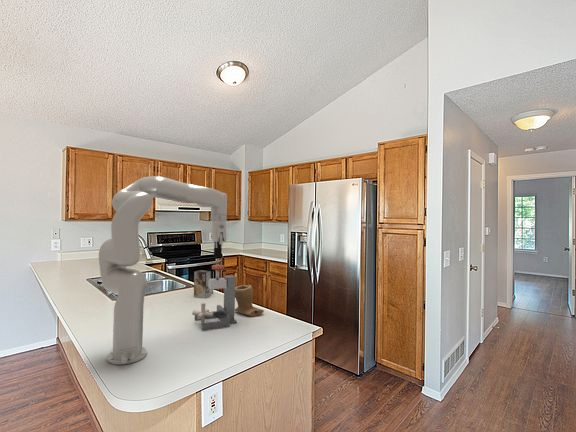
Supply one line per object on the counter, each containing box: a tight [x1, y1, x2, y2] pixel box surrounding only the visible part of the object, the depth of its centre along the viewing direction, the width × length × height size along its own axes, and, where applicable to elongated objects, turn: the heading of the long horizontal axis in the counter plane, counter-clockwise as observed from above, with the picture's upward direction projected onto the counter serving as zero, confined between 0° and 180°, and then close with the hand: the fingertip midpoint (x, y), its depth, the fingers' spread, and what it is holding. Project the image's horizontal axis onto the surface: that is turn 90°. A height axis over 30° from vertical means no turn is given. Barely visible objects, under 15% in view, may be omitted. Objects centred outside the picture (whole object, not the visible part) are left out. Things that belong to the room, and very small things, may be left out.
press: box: [194, 274, 238, 332], centre depth 149 cm, size 16×17×22 cm
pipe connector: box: [191, 302, 214, 326], centre depth 146 cm, size 10×10×10 cm
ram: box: [208, 264, 226, 295], centre depth 149 cm, size 6×7×13 cm
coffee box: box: [193, 269, 212, 299], centre depth 196 cm, size 9×6×16 cm
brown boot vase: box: [235, 284, 265, 317], centre depth 164 cm, size 15×12×15 cm
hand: (217, 255), depth 149 cm, fingers closed
